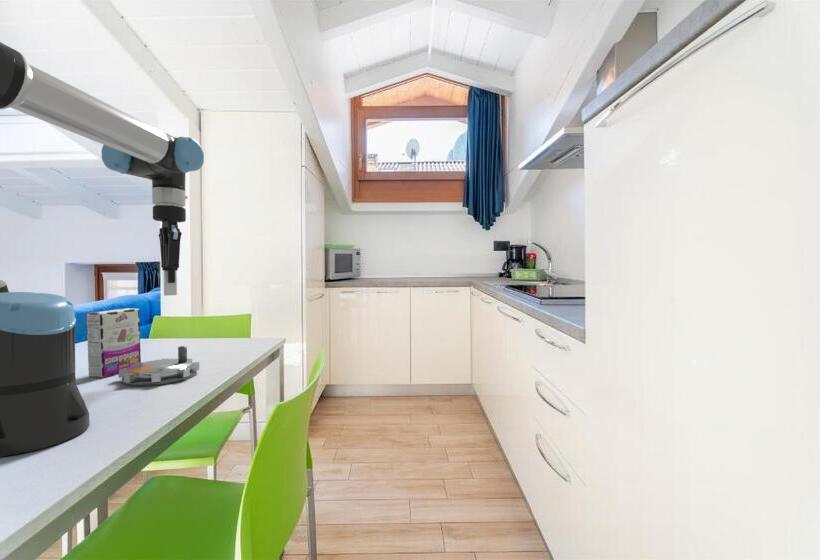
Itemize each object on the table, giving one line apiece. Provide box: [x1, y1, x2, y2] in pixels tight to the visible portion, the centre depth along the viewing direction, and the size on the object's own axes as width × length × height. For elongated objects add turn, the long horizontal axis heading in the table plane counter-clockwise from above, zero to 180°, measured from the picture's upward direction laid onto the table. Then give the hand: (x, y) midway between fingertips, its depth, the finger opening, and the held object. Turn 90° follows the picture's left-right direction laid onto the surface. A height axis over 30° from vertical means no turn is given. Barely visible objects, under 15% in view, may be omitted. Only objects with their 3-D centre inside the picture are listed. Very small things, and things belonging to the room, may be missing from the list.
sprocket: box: [118, 345, 200, 383], centre depth 101 cm, size 17×17×6 cm
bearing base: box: [121, 370, 198, 387], centre depth 101 cm, size 16×16×1 cm
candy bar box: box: [86, 307, 142, 379], centre depth 105 cm, size 11×5×16 cm, turn 168°
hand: (170, 295), depth 106 cm, fingers closed
